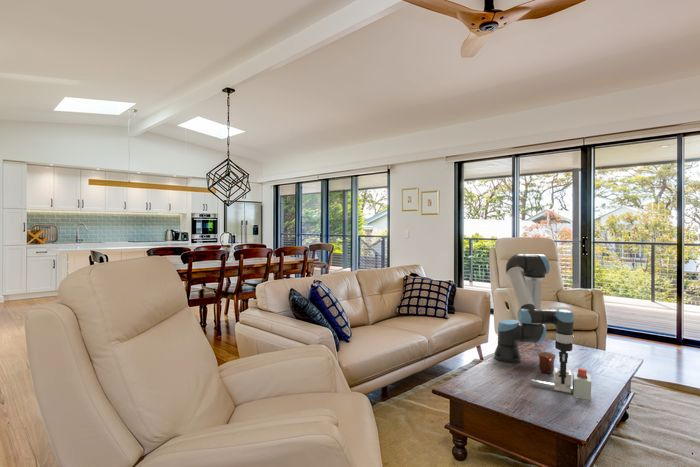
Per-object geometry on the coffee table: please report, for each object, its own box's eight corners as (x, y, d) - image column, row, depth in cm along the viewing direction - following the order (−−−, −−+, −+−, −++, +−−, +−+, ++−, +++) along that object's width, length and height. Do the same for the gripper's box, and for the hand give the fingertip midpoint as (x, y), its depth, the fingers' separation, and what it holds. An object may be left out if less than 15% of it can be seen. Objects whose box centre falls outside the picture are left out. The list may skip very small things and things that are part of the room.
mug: (535, 369, 221) (536, 351, 220) (552, 370, 219) (552, 352, 218) (541, 377, 209) (542, 358, 208) (559, 379, 207) (559, 360, 207)
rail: (530, 385, 198) (530, 380, 198) (531, 383, 201) (531, 379, 200) (575, 394, 189) (575, 389, 189) (575, 392, 191) (575, 387, 191)
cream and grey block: (554, 389, 191) (554, 371, 191) (554, 384, 197) (555, 366, 197) (570, 392, 188) (571, 374, 188) (570, 387, 194) (570, 369, 194)
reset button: (578, 376, 188) (578, 370, 188) (577, 373, 191) (577, 367, 191) (586, 377, 186) (586, 371, 186) (586, 375, 189) (586, 369, 189)
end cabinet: (572, 396, 186) (573, 378, 186) (572, 388, 195) (572, 371, 195) (590, 400, 183) (591, 381, 182) (589, 392, 192) (589, 374, 191)
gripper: (573, 348, 181) (571, 396, 182) (572, 337, 199) (570, 381, 200) (555, 346, 185) (553, 393, 186) (555, 335, 202) (554, 378, 203)
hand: (562, 386), depth 193 cm, fingers closed on cream and grey block, 7 cm apart
